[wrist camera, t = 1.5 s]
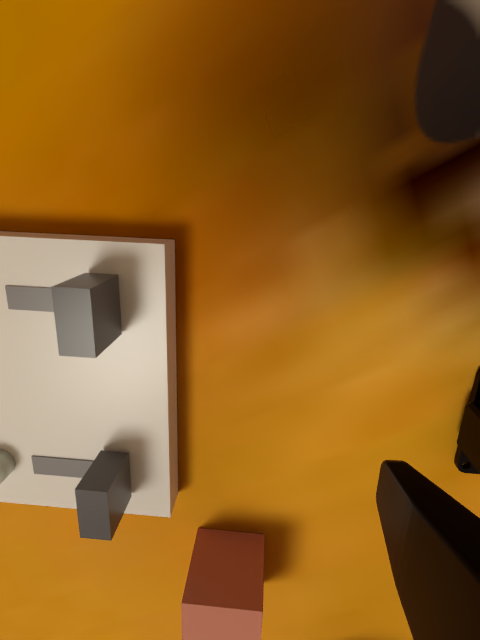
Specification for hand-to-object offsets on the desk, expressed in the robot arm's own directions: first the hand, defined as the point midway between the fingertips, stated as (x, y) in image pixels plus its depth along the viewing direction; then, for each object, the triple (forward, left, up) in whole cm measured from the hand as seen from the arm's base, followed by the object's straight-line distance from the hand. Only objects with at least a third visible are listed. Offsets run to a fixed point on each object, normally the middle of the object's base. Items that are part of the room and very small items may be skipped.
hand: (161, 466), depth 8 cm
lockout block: (-1, +18, -13) cm, 22 cm away
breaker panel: (+8, +5, -13) cm, 16 cm away
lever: (+6, +10, -11) cm, 16 cm away
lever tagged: (+6, 0, -11) cm, 12 cm away
